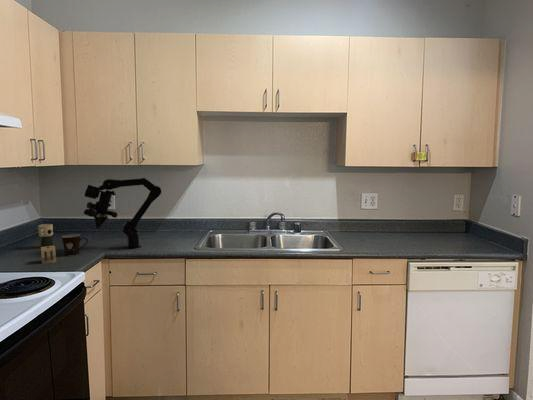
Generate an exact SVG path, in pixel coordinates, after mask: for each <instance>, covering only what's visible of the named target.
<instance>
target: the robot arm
mask: <svg viewBox="0 0 533 400" xmlns="http://www.w3.org/2000/svg"><path fill="white" fill-rule="evenodd" d="M134 186H144V187H145V188H146V189H147V190H148V191H149V193H148V195H147V197H146V199H145V200H144V201H143V203H142V205H141V206H140V208H138V210H137V212H136V213H135V214H134V216H133V217H132V218H130V219H129V218H128V219H127V221H126V223H124V224H123V225H122V226H123V228H122V231H123V234H124V235H126V237H127V240H126V241H127V245H126V246H125V248H127V249H131V250H133V249H137V248H138V249H139V248H141V247H142V245H140V241H139V240H140V239H139V237H140V236H139V230H137V229H136V228H137V226H138V223H139V222H140V220H141V218H143V216H144V214H145V213H146V212H147V211H148V209H149V207H150V206H151V204H152V203H153V202H154V201H155V200H157V198H158V197H160V195H161V194H162V188H161V187H160V186H159V185H155V184H154V183H152V182H151V181H150V180H148V178H146V177H142V178H130V179H129V178H127V179H117V178H116V179H114V178H107V179H105V180H103V182H102V185H100V186H95V185H94V186H93V185H91V184H88V185H87V187H86V190H85V192H84V197H85V198H89V199H94V200H96V199H97V198H98V201H96V202H95V203H94V202H91V201H87V204H86V208H85V209H84V212H83V215H85V216H88V217H91V218H94V221H95V228H96V229H100V228H101V226H102V225H103V224H104V223H105V222H106V221H107V220H108V219H110V217H108V216H111V217H112V218H117V217H118V213H117V211H113V210H109V208H110V207H111V206H112V204H110V203H111V199H112V196H116V193H115V190H113V189H118V188H121V187H123V188H124V187H134ZM104 190H105V191H104ZM111 190H112V191H111Z"/></svg>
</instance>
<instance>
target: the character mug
mask: <svg viewBox="0 0 533 400" xmlns="http://www.w3.org/2000/svg"><path fill="white" fill-rule="evenodd" d="M37 228H38V236H39V237H40V238H41V239H40V248H41V247H47V246H54V241H53V238H52V236H53V235H54V232H53V230H54V227H53V224H52V223H44V224H43V223H42V224H39V225H37Z"/></svg>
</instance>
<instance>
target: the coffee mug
mask: <svg viewBox="0 0 533 400" xmlns="http://www.w3.org/2000/svg"><path fill="white" fill-rule="evenodd" d="M61 239H62V245H63V249H64V253H65V254H64V255H65V256H66V255H74V256H77V255H76V254H78V255H79V254H80V250H81V248H83V247H85V246H86V245H87V244H88V241H89V240H88V238H86V237H81V234H79V233H72V234H65V235H62V236H61ZM84 239H85V240H86V242H85V244H83V245H81V246H80V242H81V240H84Z"/></svg>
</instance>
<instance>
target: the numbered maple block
mask: <svg viewBox="0 0 533 400" xmlns="http://www.w3.org/2000/svg"><path fill="white" fill-rule="evenodd" d="M40 254H41V263H42V265H44V264H51V263H56V262H57V254H56V245H52V246H47V247H41V246H40ZM50 262H51V263H50Z"/></svg>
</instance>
